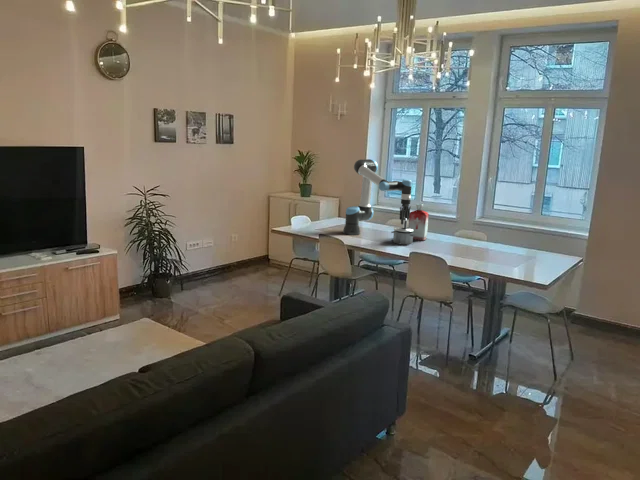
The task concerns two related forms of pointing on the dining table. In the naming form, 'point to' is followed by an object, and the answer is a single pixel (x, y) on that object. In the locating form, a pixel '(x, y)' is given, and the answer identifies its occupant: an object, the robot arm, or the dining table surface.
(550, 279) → the dining table surface
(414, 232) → the bottle
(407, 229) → the lid
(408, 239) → the pot
